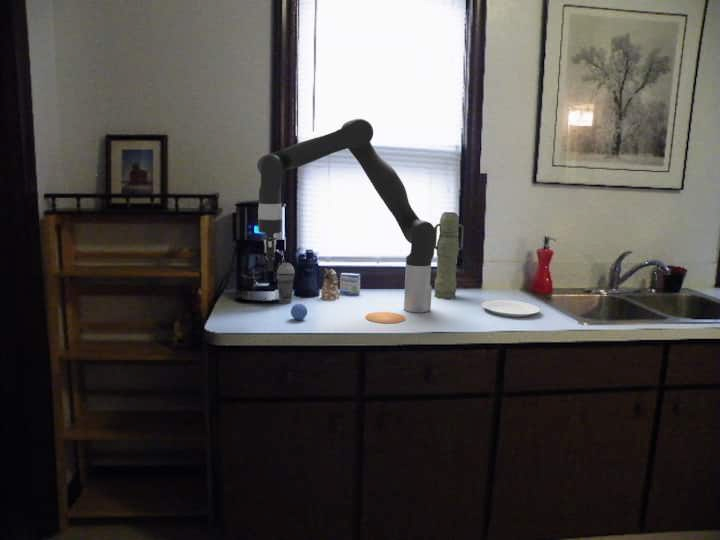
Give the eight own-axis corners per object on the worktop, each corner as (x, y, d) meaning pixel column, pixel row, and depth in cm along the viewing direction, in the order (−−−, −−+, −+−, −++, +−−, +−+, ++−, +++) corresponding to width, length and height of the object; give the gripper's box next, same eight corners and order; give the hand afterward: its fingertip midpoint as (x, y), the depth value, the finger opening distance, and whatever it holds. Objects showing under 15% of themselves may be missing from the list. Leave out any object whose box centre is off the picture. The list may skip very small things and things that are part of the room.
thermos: (428, 294, 215) (432, 211, 208) (455, 294, 216) (460, 212, 210) (433, 299, 206) (438, 213, 200) (461, 299, 207) (467, 213, 201)
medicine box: (339, 294, 209) (339, 274, 208) (341, 292, 214) (342, 272, 212) (358, 296, 208) (358, 275, 207) (360, 293, 213) (360, 273, 211)
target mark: (400, 312, 184) (400, 311, 184) (410, 323, 171) (410, 322, 171) (362, 312, 182) (362, 312, 182) (369, 324, 168) (369, 323, 168)
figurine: (333, 301, 198) (333, 271, 196) (317, 298, 201) (318, 269, 199) (342, 297, 204) (343, 268, 202) (327, 295, 207) (328, 266, 205)
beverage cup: (291, 305, 190) (291, 252, 186) (272, 304, 191) (272, 251, 187) (297, 301, 197) (297, 250, 193) (279, 299, 198) (279, 249, 194)
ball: (306, 317, 174) (306, 301, 173) (307, 321, 169) (307, 305, 168) (290, 317, 173) (290, 302, 172) (291, 322, 168) (291, 306, 167)
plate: (471, 311, 189) (471, 306, 189) (498, 302, 204) (498, 297, 204) (523, 323, 175) (524, 317, 175) (548, 313, 190) (549, 307, 190)
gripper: (282, 219, 157) (282, 273, 160) (281, 216, 171) (281, 265, 174) (257, 219, 156) (258, 273, 159) (258, 215, 170) (259, 265, 173)
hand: (270, 269), depth 167 cm, fingers open, 5 cm apart
